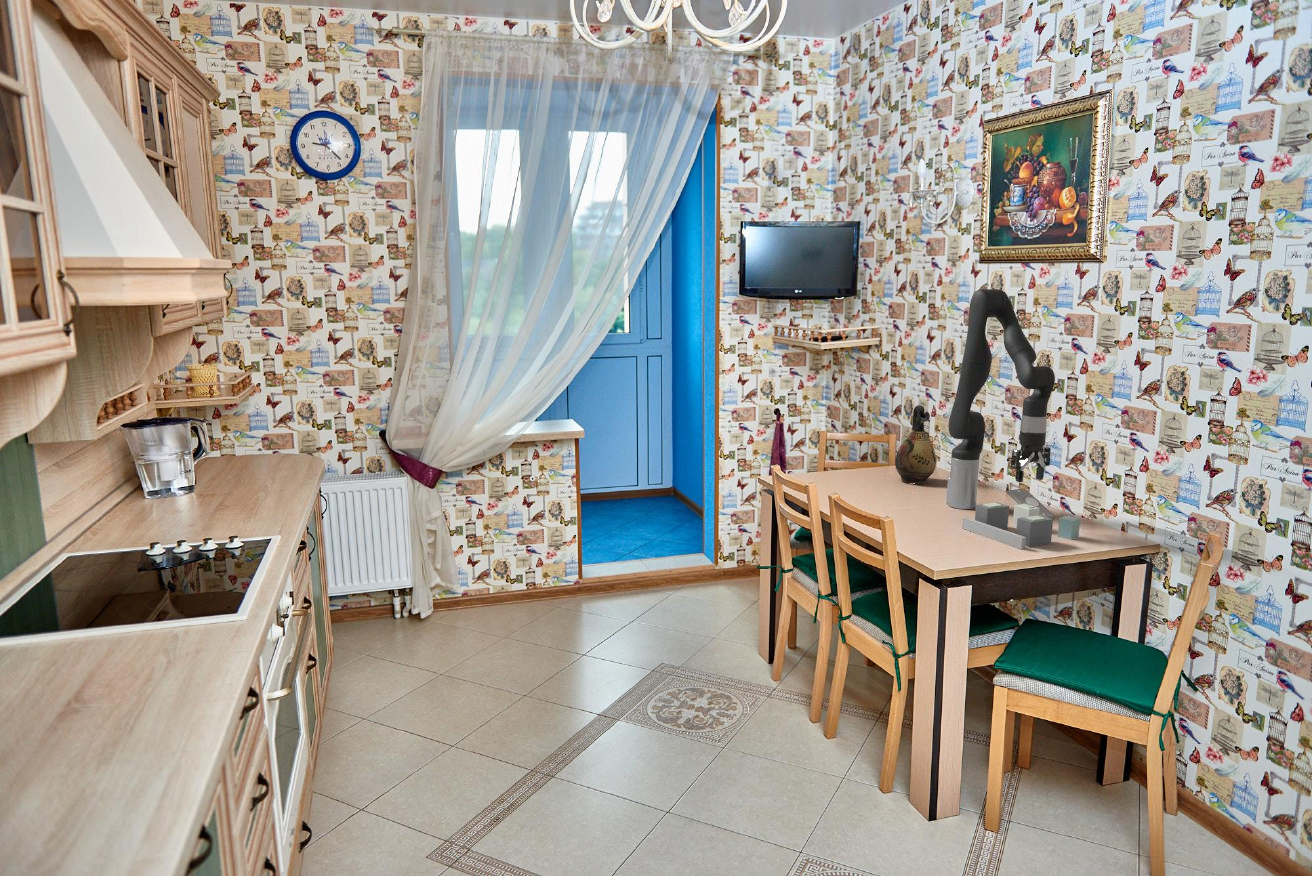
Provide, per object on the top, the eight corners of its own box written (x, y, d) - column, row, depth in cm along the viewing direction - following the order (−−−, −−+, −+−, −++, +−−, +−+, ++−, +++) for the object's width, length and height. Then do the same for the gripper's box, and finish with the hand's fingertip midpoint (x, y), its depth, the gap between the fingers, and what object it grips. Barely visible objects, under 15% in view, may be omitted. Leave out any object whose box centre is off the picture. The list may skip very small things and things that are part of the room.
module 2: (1057, 536, 272) (1059, 517, 271) (1064, 534, 274) (1066, 515, 273) (1071, 540, 268) (1072, 520, 267) (1078, 537, 270) (1080, 519, 269)
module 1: (1012, 526, 283) (1014, 504, 282) (1023, 524, 285) (1024, 502, 283) (1027, 531, 277) (1029, 508, 276) (1037, 529, 279) (1039, 507, 278)
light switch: (1039, 517, 288) (1008, 488, 298) (1030, 530, 291) (1000, 501, 301) (1056, 514, 292) (1026, 485, 302) (1047, 527, 295) (1018, 498, 305)
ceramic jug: (940, 486, 338) (945, 409, 332) (899, 486, 338) (904, 408, 333) (927, 476, 354) (931, 402, 349) (888, 476, 354) (892, 402, 349)
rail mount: (962, 528, 279) (963, 504, 278) (993, 524, 285) (995, 500, 283) (1021, 549, 258) (1023, 523, 257) (1053, 544, 263) (1055, 519, 262)
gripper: (1040, 427, 282) (1036, 476, 285) (1006, 429, 276) (1003, 480, 279) (1059, 430, 275) (1055, 481, 278) (1025, 433, 269) (1021, 485, 272)
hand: (1029, 480), depth 278 cm, fingers open, 8 cm apart
